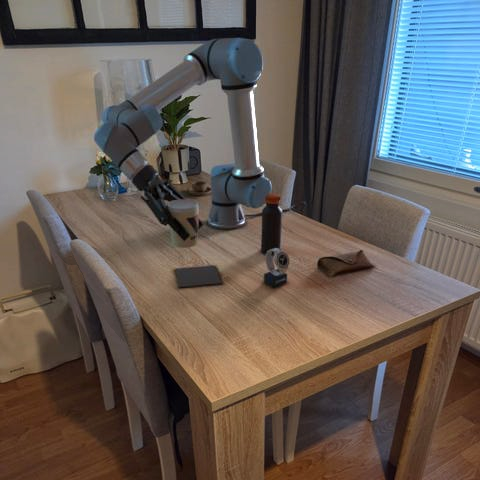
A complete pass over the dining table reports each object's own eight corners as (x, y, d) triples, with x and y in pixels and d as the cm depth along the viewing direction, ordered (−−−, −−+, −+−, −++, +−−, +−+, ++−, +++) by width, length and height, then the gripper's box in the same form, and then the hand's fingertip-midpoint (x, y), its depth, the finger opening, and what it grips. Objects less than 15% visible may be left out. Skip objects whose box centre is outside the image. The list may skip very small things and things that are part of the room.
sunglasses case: (331, 276, 140) (327, 255, 139) (319, 278, 146) (315, 258, 146) (376, 266, 146) (372, 246, 146) (363, 269, 153) (359, 250, 152)
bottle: (271, 256, 154) (274, 199, 143) (257, 251, 158) (258, 195, 147) (283, 251, 158) (287, 195, 147) (269, 246, 162) (271, 191, 151)
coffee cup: (195, 250, 129) (193, 209, 123) (165, 247, 131) (161, 207, 124) (204, 238, 137) (202, 199, 130) (175, 236, 138) (172, 197, 132)
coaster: (214, 266, 147) (214, 265, 147) (221, 284, 136) (221, 282, 136) (175, 270, 145) (175, 268, 144) (179, 288, 134) (179, 286, 134)
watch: (277, 290, 133) (278, 256, 127) (260, 280, 138) (261, 247, 133) (291, 285, 136) (293, 251, 130) (273, 275, 141) (275, 243, 135)
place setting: (198, 199, 210) (197, 187, 207) (166, 192, 219) (165, 180, 216) (219, 190, 223) (219, 178, 220) (188, 184, 232) (187, 173, 229)
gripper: (151, 172, 138) (201, 227, 142) (112, 191, 120) (170, 253, 124) (165, 155, 133) (216, 213, 137) (127, 172, 116) (186, 237, 120)
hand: (194, 232), depth 131 cm, fingers closed on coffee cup, 9 cm apart
